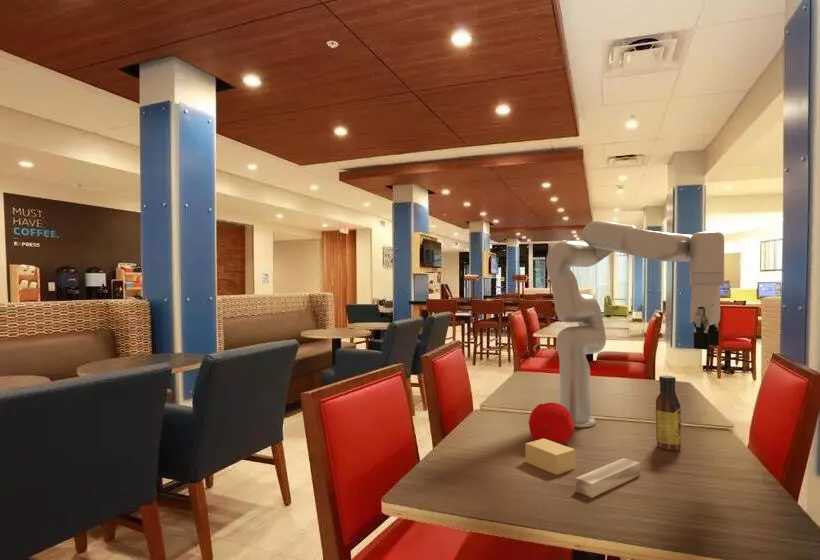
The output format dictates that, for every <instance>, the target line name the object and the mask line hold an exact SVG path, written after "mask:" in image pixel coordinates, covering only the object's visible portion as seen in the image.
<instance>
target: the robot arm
mask: <svg viewBox="0 0 820 560" xmlns="http://www.w3.org/2000/svg"><path fill="white" fill-rule="evenodd" d="M581 232H582V233H581V236H582V240H583V241H577V240H563V241H560V242H556V243H555V244H554V245H552V247H551V248H549V251H548V253H547V255H546V261H545V262H546V263H545V264H546V265H545V266H546V270H547V274H548V277H549V281H550V285H551V291H552V296H553V303H554V309H555V313H556V316H557V319H558V320H559V321H561V322H563V323H568V324H569V323H578V324H577V326H576V325H575V326H568V327H565V328H563V329H562V330H560V331H559V333H558V334H557V336H556V347H557V348H556V350H557V354H558V359H559V404H561V405H562V406H564V407H566V408H567V409H568V410H569V411H570V413H571V416H572V420H573V422H574V428H589V427H593V426H595V425H596V419H595V418H594V417H591V367H590V364H589V361H588V359H587V355H591V354H592V355H593V354H596V353H597V354H598V353H600V352H601V351H602V350H604V348H605V346H606V344H607V343H606V342H607V337H606V330H605V325H604V320H603V315H602V310H601V309H602V308H601V306H600V303H599V302H598V300H597V299H596V298H595V297H594V296H592V295H591V294H586V293H581V292H580V289H579V283H578V279H577V276H576V275H575V273H574V272H573V271H572V270H571V267H575V268H577V267H578V268H579V267H581V268H589V267H592V266H595V265H597V264H598V263H600V262H602V261H603V260H604V259H606V258H607V257H608V256H610V255H612V253H613V252H616V253H620V254H625V255H630V256H633V257H639V258H643V259H648V260H652V261H659V262H676V263H678V262H679V263H684V262H689V286H690V287H691V295H690V309H689V310H690V311H689V322H690V324H692V325H693V327H694V328H693V348H694V349H695V350H706V351H707V350H709V349H710V346H715V347H717V346H719V345H720V341H719V340H720V331H719V327H720V326H719V323H720V321H721V289H720V288H721V287H725V237H724V234H723V233H721V232H719V231H699V232H695V233H693V234H685V233H684V234H683V233H676V232H662V231H655V230H654V231H653V230H647V229H640V228H638V226H636V225H630V224H624V223H623V224H622V223H618V222H613V221H602V220H595V221H591V222H588V223H587V224H585V226H584V227H583V229H582V231H581Z"/></svg>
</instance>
